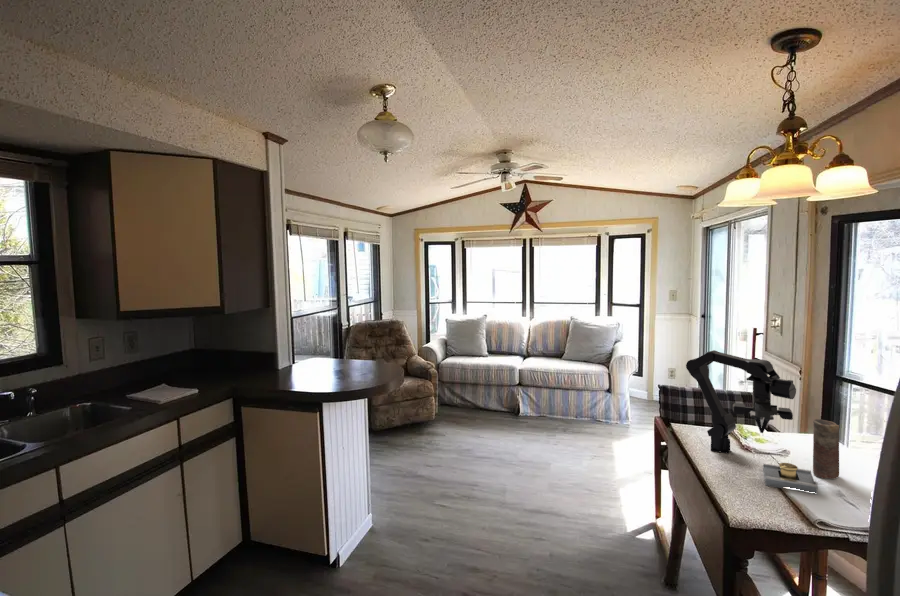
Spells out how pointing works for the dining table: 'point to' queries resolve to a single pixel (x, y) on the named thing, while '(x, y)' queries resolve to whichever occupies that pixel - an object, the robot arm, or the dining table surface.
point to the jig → (802, 479)
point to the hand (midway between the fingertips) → (761, 432)
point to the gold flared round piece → (788, 470)
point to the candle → (825, 449)
